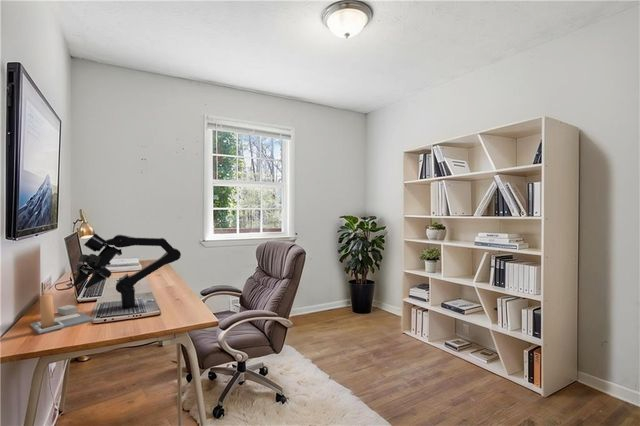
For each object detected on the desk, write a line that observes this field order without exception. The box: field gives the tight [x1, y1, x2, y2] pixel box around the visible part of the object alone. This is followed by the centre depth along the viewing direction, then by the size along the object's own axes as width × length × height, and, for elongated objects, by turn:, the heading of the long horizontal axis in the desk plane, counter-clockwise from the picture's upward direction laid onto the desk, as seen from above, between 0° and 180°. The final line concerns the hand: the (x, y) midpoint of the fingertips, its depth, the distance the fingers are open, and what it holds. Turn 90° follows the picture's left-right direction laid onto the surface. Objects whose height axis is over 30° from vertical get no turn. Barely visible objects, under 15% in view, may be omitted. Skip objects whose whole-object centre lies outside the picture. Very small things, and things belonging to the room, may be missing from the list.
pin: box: [39, 293, 55, 329], centre depth 133 cm, size 4×4×13 cm
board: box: [30, 311, 94, 335], centre depth 140 cm, size 16×18×2 cm
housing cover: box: [57, 304, 79, 316], centre depth 155 cm, size 7×5×2 cm
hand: (79, 286), depth 147 cm, fingers open, 9 cm apart
